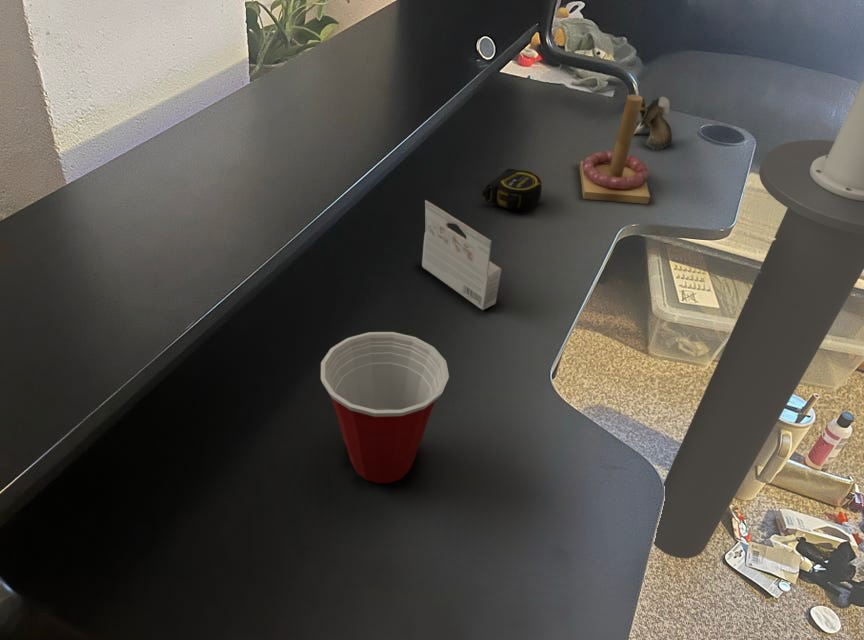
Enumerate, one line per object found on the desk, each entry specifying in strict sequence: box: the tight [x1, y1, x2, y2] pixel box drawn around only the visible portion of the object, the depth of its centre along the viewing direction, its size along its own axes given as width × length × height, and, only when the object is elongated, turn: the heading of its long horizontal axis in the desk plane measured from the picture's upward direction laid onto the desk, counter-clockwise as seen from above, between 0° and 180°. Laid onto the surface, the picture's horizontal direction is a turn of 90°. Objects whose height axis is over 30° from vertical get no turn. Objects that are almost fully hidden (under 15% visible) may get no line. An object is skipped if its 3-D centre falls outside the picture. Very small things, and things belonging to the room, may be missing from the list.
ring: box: [582, 150, 650, 189], centre depth 107 cm, size 9×9×2 cm
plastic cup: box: [320, 331, 450, 484], centre depth 66 cm, size 11×11×12 cm
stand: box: [579, 94, 651, 205], centre depth 103 cm, size 9×9×13 cm
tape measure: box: [481, 168, 543, 211], centre depth 102 cm, size 7×7×4 cm
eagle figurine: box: [633, 96, 673, 151], centre depth 117 cm, size 8×7×9 cm
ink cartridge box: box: [421, 199, 502, 311], centre depth 86 cm, size 2×11×10 cm, turn 39°
